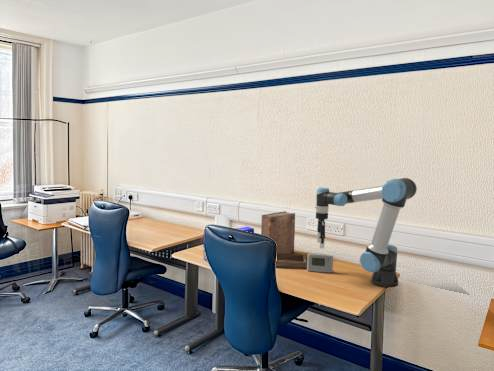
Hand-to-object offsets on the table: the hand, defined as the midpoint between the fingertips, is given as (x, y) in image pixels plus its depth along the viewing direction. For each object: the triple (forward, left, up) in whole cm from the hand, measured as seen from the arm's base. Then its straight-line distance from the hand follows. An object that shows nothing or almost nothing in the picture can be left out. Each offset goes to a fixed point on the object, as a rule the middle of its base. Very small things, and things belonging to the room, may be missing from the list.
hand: (320, 245), depth 240 cm
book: (+32, +26, -17) cm, 45 cm away
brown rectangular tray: (+12, +19, -17) cm, 28 cm away
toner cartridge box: (+24, +61, -17) cm, 68 cm away
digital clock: (0, 0, -17) cm, 17 cm away
